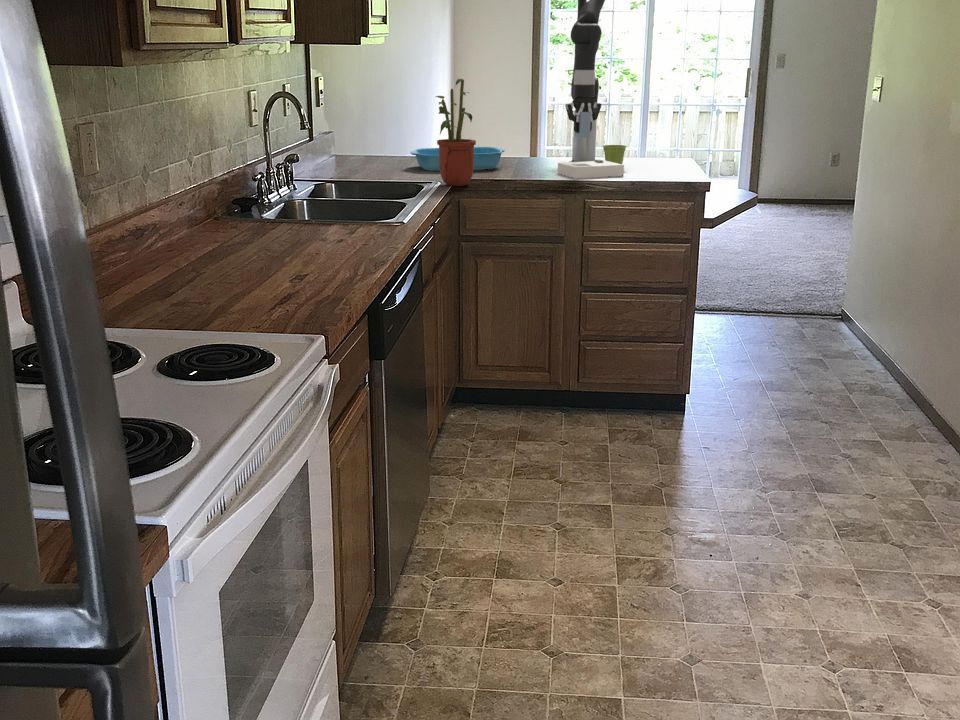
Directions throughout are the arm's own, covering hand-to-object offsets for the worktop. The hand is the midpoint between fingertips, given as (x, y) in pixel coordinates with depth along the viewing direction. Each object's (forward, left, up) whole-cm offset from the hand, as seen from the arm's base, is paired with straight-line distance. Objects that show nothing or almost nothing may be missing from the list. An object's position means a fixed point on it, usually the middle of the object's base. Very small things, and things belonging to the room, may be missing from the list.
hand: (582, 132), depth 348 cm
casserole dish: (-38, -34, -16) cm, 54 cm away
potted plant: (+5, -53, -16) cm, 56 cm away
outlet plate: (-2, +5, -16) cm, 17 cm away
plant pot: (-15, +22, -16) cm, 31 cm away
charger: (0, 0, -2) cm, 2 cm away
